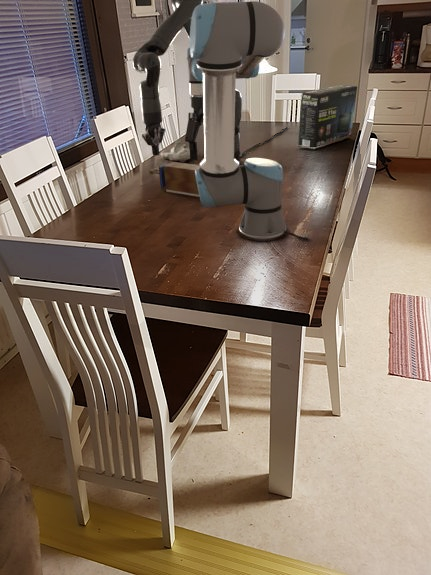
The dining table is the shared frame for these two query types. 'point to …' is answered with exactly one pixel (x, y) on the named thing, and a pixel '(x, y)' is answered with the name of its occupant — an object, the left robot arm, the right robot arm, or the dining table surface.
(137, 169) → the dining table surface
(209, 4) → the right robot arm
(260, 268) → the dining table surface
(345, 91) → the router box
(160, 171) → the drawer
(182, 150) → the fossil
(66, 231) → the dining table surface
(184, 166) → the brown rectangular box
